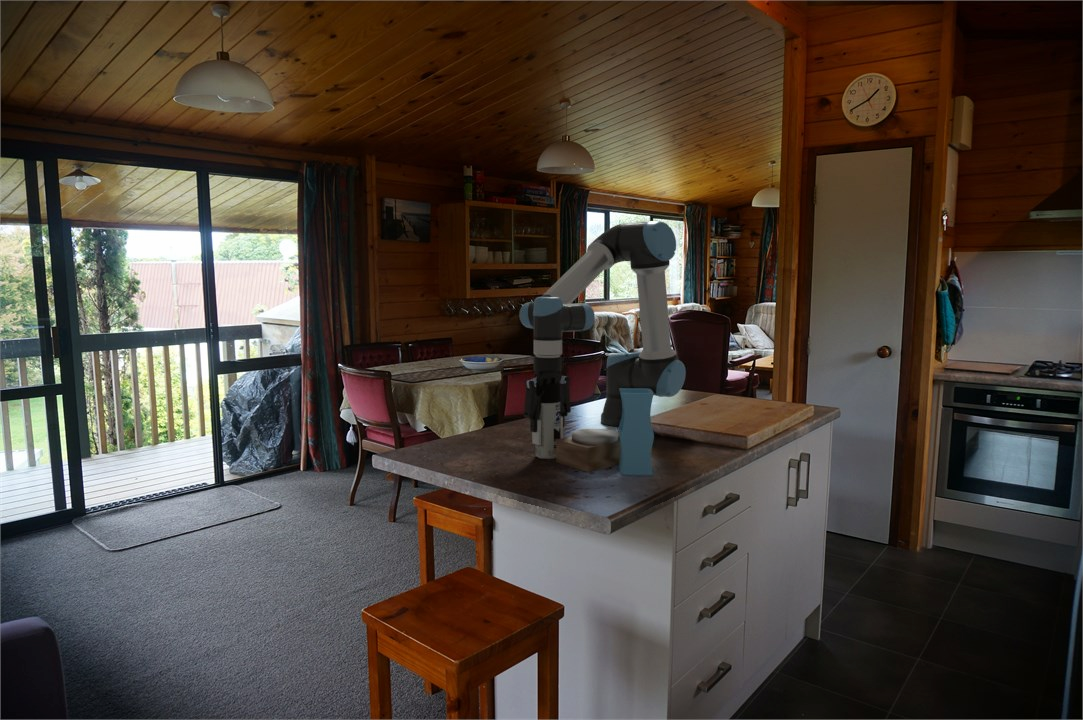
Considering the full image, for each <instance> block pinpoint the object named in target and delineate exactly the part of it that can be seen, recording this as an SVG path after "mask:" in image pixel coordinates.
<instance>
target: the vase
mask: <svg viewBox="0 0 1083 720" xmlns="http://www.w3.org/2000/svg"><path fill="white" fill-rule="evenodd" d="M619 390H620V394H621V399H622V408H623V411H622V418H621V422H620V425H619V426H618V428H617V429H618V430H617V433H619V438H620V448H621V453H620V462H619V465H618V471H619V474H620V475H624V476H653V475H654V474H653V468H652V458H651V457H652V449H653V444H654V439H655V433H654V431H653V426H652V419H651V416H652V415H651V412H652V411H651V409H652V402H653V398H654V395H653V394H654V393H653V391H652V390H651V389H646V388H619Z"/></svg>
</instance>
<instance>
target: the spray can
mask: <svg viewBox="0 0 1083 720" xmlns="http://www.w3.org/2000/svg"><path fill="white" fill-rule="evenodd" d="M535 385H536V384H535ZM543 390H544V394H543V395H542V396H541V411H540V415H539V418H538V420H541V445H537V444H534V445H535V457H537V458H538V459H542V460H554V459H555V460H556V439H560V382H559V383H550V384H542V387H541V386H539V385H538V384H537V385H536V387H535V392H536V395H537V396H540V395H541V393H542V391H543Z"/></svg>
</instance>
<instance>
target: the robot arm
mask: <svg viewBox="0 0 1083 720" xmlns="http://www.w3.org/2000/svg"><path fill="white" fill-rule="evenodd" d="M676 250H677V240H676V236H675V233H674V231H673V229H672V228H671V227H670V226H669V224H668V223H666V222H664V221H659V220H658V221H657V220H655V221H654V220H648V221H638V222H637V221H636V222H623V223H619V224H615V225H614V226H612V227H610V228H608V229H607V230H605V231H604V232H602V233H601V234H600V235H599V236H597V238H595V239H594V240H593V241H592V242H591V243H590V244H588V245H587V248H586V252H585V253H584V255H582V256H581V257H580V258H579V259H578V260H577V261H576V262H575V263H574V264H573V265H572V266H571V267H569V269H568V270H567V271H566V272H565V273H563V275H562V276H561V277H560V278H559V279H557V281H556V282H554V283H553V284H552V285H551V287H549V289H547V290H546V292H544V293H543V294H542V295H541V296H537V297H536V298H534V301H529V302H526V303H524V304H523V305H522V306H521V307H520V310H519V313H518V314H519V321H520V322H521V324H522V325H523V326H524V327H525V328H528V329H533V355H535V356H534V357H533V371H534V375H533V378H531V379H525V380H524V386H525V395H524V396H525V399H524V406H523V407H524V408H523V417H524V418H527V419H529V421H530V423H529V424H530V425H529V426H530V427H529V428H530V432H531V434H532V435H531V437H532V438H531V439H532V441H531V443H532V444H534V445H535V444H537V445H541V420H538V418H539V415H540V411H541V396H542V395H543V394H544V390H543V391H542V393H541V395H540V396H537V395H536V392H535V387H536V385H537V384H538V385H539V386H541V387H542V384H550V383H560V439H562V438H564V433H563V432H564V428H565V423H566V422H565V417H567V416H568V414H569V413H571V411H572V410H571V398H570V397H571V396H570V395H571V394H570V381H571V377H570V376H566V375H562V373H561V372H562V369H563V358H562V355H563V333H566V332H568V333H569V332H570V333H571V332H580V333H581V332H583V331H587V330H589V329H591V328H592V327H593V326H594V324H595V319H596V315H595V311H594V309H593V307H592V306H591V305H590V304H588V303H582V302H577V303H573V302H574V301H575V300H576V299H577V298H578V297H579V296H580V295H581V294H582V293H583V292H584V291H585V290H586V289H587V287H589V286H590V285H591V284H592V282H594V281H595V279H597V278H598V277H599V276H600V275H601V273H603V272H604V270H609V269H611V268H612V267H613V266H614V265H616V264H618V263H622V262H623V263H624V262H630V270H632V272H634V273H635V274H636V283H637V284H636V285H637V295H638V296H637V297H638V307H639V309H638V310H639V318H640V330H641V341H642V351H639V352H638V351H637V352H623V353H615V354H609V356H607V359H606V367H605V369H606V371H605V373H606V374H605V375H606V377H605V378H606V379H605V381H606V383H605V384H606V385H605V386H606V387H605V389H606V394H605V395H606V396H605V403H604V405H603V409H602V412H601V413H600V423H601V424H603V425H606V426H611V427H619V425H620V422H621V418H622V411H623V408H622V399H621V394H620V390H619V388H646V389H651V390H652V391H653V393H654V394H653V396H656V397H659V398H662V397H665V398H671V397H674V396H676V395H677V394H679V392H680V391H681V389H682V388H683V386H684V383H685V380H686V373H687V372H686V367H685V364H684V363H683V362H682V361H681V360H680V359H677V351H676V350H674V348H672V346H671V332H670V321H669V319H670V318H669V308H668V295H667V283H666V270H667V269H668V268H669V266H670V260H672V259H673V258H674V257H675V254H676ZM535 384H536V385H535Z"/></svg>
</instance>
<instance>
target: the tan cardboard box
mask: <svg viewBox="0 0 1083 720" xmlns="http://www.w3.org/2000/svg"><path fill="white" fill-rule="evenodd" d="M620 453H621V448H620V438H619V433H618V431H615V430H613V429H607V428H582V429H577V430H576V429H575V430H574V431H572V432H571V436H568V437H563V438H562V439H556V458H555V460H556V463H557V464H560V465H564V466H567V467H570V468H574V469H578V470H579V471H583V472H586V473H589V472H594V471H599V470H602V469H607V468H611V467H615V466H619V462H620Z"/></svg>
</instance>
